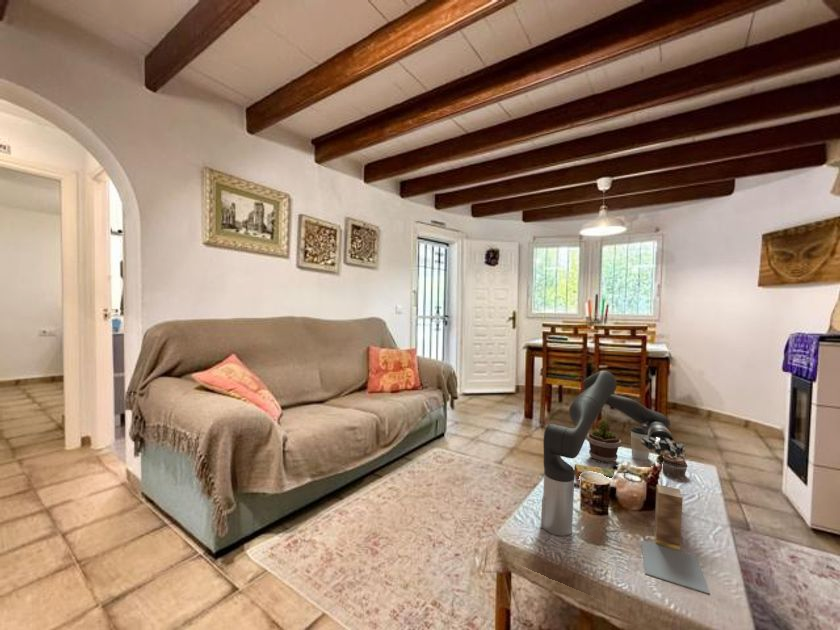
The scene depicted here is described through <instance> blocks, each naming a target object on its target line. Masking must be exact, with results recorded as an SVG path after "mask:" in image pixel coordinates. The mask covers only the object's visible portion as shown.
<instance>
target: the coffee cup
mask: <svg viewBox="0 0 840 630" xmlns="http://www.w3.org/2000/svg"><path fill="white" fill-rule="evenodd" d="M630 434H631V435H630V444H631V445H630V447H631V457H633V458H635V459H636V460H642V461H647V460H649V457H650V449H648V448H647V447H645V446H644V445H642V444H641V437H645V438H648V435H647V434H646V433H645V432H644V431H643V429H642V425H641V424H640V425H639V424H638V425H637V424H635V425H633V426H631V428H630ZM648 439H649V438H648Z"/></svg>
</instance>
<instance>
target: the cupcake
mask: <svg viewBox="0 0 840 630" xmlns="http://www.w3.org/2000/svg"><path fill="white" fill-rule="evenodd" d="M663 452H664V453H663V454H662V456H664V463H663V468H662V473H664V474H665V475H667V476H669V477H672V478H673V477H674V478H679V479H681V478H680V477H683V478H685V476H686V473H687V469H688V464H687V462H686V458H685V454H684V452H683V453H682V454H680V455H678V454H676V456H674V457H671V456H670V453H669V452H667V451H663Z"/></svg>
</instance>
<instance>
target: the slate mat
mask: <svg viewBox="0 0 840 630" xmlns="http://www.w3.org/2000/svg"><path fill="white" fill-rule="evenodd" d="M640 542H641V551H642V556H643V557H642V558H643V566H644V567H643V568H644V574H645V575H647V576H650V577H654V578H655V579H656V578H657V579H659V580H663V581H666V582H670V583H672V584H674V585H679V586H682V587H685V588H688V589H691V590H694V591H698V592H701V593H704V594H707V595H711V594H710V593H711V592H710V589H709V587H708V584H707V580H706V579H705V575H704V572H703V570H702V566H701V564H700V561H699V557H698V555H695V554H692V553H688V552H685V551H680V550H677V549H673V548H669V547H666V546H662V545H659V544H656V543H652V542H649V541H645V540H641V541H640Z"/></svg>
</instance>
